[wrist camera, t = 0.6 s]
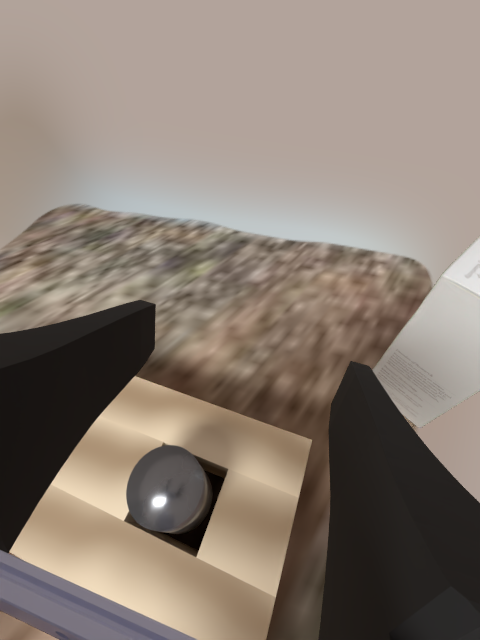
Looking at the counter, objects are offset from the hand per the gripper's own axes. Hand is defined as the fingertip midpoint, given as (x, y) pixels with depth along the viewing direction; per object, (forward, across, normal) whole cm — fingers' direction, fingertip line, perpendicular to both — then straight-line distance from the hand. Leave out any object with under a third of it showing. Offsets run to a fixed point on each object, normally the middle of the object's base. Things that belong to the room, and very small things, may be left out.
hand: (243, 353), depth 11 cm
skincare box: (+17, -14, +10) cm, 24 cm away
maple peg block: (+4, +8, +18) cm, 20 cm away
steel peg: (+2, +2, +14) cm, 14 cm away
